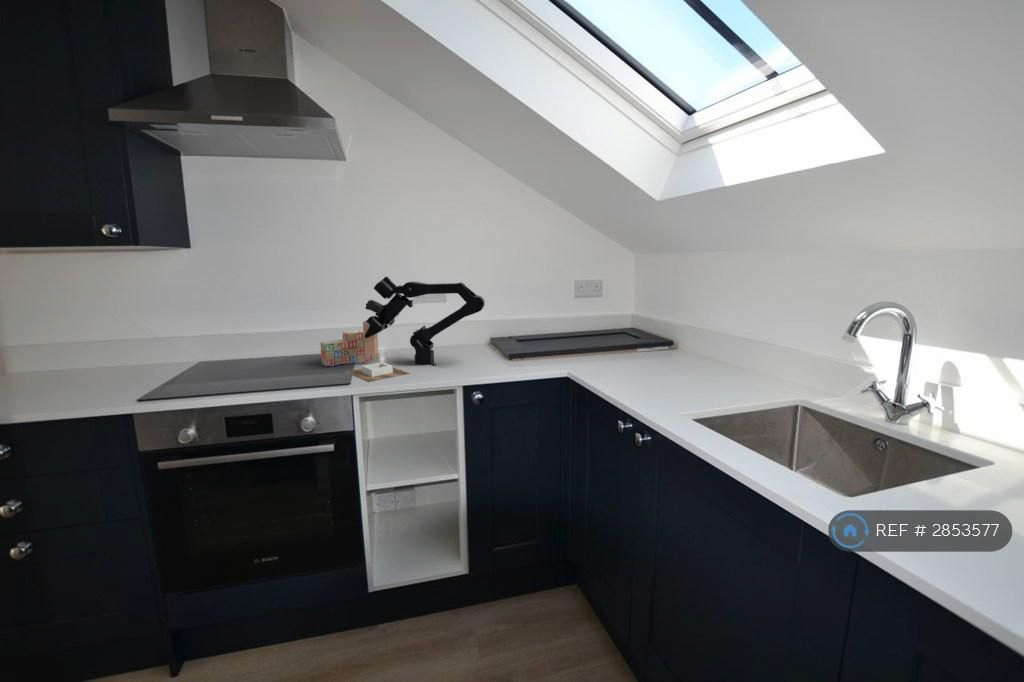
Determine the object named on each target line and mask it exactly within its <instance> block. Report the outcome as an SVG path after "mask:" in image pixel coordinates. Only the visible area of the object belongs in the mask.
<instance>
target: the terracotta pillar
mask: <svg viewBox="0 0 1024 682" xmlns="http://www.w3.org/2000/svg"><path fill="white" fill-rule="evenodd" d="M369 326H370V324H369V323H367V320H365V321H362V328H363V329H362V330H363V333H364V336H365V334H366V332H367V330H368V328H369ZM364 348H365V354H377V353H378V354H379V338H378V333H377V334H375V335H372V336H370V337H368V338H365V337H364Z"/></svg>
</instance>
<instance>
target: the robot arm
mask: <svg viewBox="0 0 1024 682" xmlns="http://www.w3.org/2000/svg"><path fill="white" fill-rule="evenodd" d="M373 290H375V292H376V293H378V294H379V295H380V296H381V298H383V299H384V300H386V299H388V300H389V301H388V302H387V303H385V304H382V303H380V302H378V301H375V300H374V299H370V300H367V303H365V309H366V310H367V311H371V312H373V313H375V314H374V315H371V316H369V317H368V318H367V319H366V321H367V323H369V324H370V326H369V328H368V330H367V332H366V334H365V336H364V337H365V338H368V337H370V336H372V335H375V334H377V335H378V334H379V333H382V332H383V330H385V329H388V328H389V326H390V327H391V326H392V325H393V324H394V323H396V317H398V316H399V315H400V313H401V312H402V311H403V310H404V309H405V308H406V307H407V306H408V308H413V307H414V300H413V299H409V298H415V297H416V298H417V297H422V296H424V295H434V294H435V295H438V294H439V295H440V294H441V295H442V294H443V295H444V294H447V295H448V294H457V295H459V297H460V298H461V299H462V300H463V301H464V302H465V303H464V304H462V306H461V307H460V308H458V309H457V310H455V311H453V312H452V313H450V314H449V315H447V316H445V317H444V318H442V319H441V320H439V321H437V322H436V323H434V324H433V325H431V326H429V327H426V325H422V326H421V328H419V329H415V331H413V332H412V334H413V335H411V336H410V338H409V344H410V346H412V348H414V350H415V354H414V364H415V365H420V366H433V367H434V365H435V366H436V365H437V363H436V362H435V353H434V352H435V350H434V349H433V348H434V345H435V344H434V342H433V341H432V339H433V338H434V337H435V336H436V335H438V334H440V333H442V332H444V330H446V329H447V328H450V327H451V326H452V325H455V324H456V323H458V322H459V321H461V320H462V319H463V318H466V317H468V316H471V315H474V314H476V313H479V312H481V311H482V310H483V309H484V307H485V305H486V302H485V301H486V300H485V299H484V298H483V297H482V296H481V295H478V294H476V293H475V292H474V291H472V290H471V289H470V288H469V287H468V286H466V284H465V283H464V282H461V281H460V282H455V283H454V282H453V283H452V282H451V283H447V282H446V283H425V282H419V281H413V280H412V281H408V282H405V283H404V284H403V285H396V284H395V283H394V282H393V281H392V280H391V279H390V277H388V276H384V277H383V278H382V279H381V280H380V281H378V282H377V283H376V284H375V285H374V287H373ZM365 309H364V310H365Z"/></svg>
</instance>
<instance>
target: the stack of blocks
mask: <svg viewBox="0 0 1024 682" xmlns="http://www.w3.org/2000/svg"><path fill="white" fill-rule="evenodd" d="M319 346H320V356H321V364H322V363H323V364H325V365H333V364H339V363H345V362H357V363H362V362H363V361H364V362H368V361H369V360H370V361H375V359H377V360H379V359H380V358H379V355H380V354H379V352H378V353H377V354H365V348H364V333H363V329H357V330H351V331H350V330H349V331H342V339H336V340H335V339H334V340H329V341H320V344H319ZM370 361H369V362H370ZM364 362H363V363H364ZM323 364H322V365H323Z"/></svg>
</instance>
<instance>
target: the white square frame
mask: <svg viewBox="0 0 1024 682" xmlns="http://www.w3.org/2000/svg"><path fill="white" fill-rule="evenodd" d="M361 369H362V373H364V374H366V375H369V376H371V377H373V376H379V375H384V374H389V373H393V365H390V364H389V363H385V362H381V361H380V362H375V363H370V364H364V365H361Z"/></svg>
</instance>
